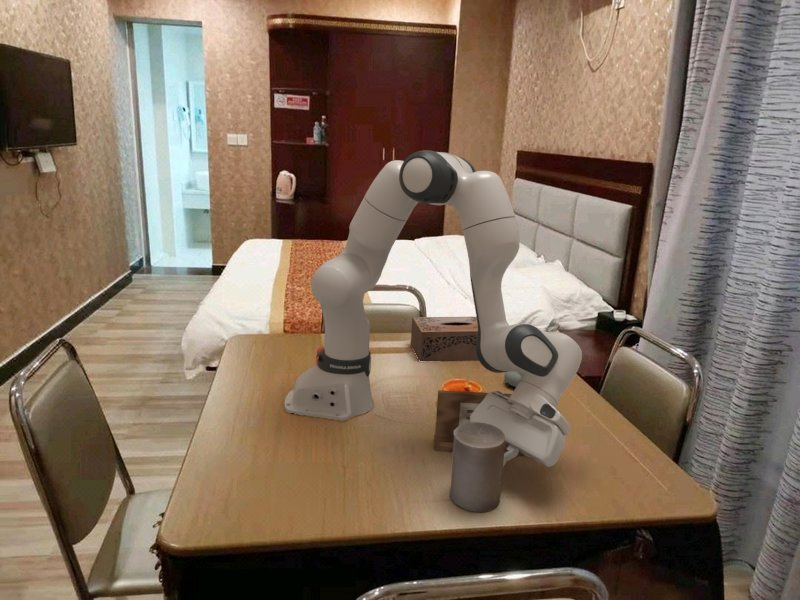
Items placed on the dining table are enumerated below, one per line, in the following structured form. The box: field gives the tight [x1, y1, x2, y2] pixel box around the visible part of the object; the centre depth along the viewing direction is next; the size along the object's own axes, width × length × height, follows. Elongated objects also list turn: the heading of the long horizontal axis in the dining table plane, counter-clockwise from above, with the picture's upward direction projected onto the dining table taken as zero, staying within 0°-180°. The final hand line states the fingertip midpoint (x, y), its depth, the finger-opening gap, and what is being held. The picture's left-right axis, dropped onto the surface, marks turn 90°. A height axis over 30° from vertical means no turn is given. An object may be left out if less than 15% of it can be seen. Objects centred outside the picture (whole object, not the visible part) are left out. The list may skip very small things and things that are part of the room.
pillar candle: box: [449, 422, 505, 513], centre depth 111 cm, size 10×10×15 cm
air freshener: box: [503, 371, 521, 388], centre depth 164 cm, size 11×8×10 cm
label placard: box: [433, 389, 525, 456], centre depth 129 cm, size 24×5×13 cm, turn 89°
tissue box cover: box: [410, 316, 480, 363], centre depth 186 cm, size 26×14×10 cm, turn 100°
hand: (494, 463), depth 115 cm, fingers closed, pressing on pillar candle
